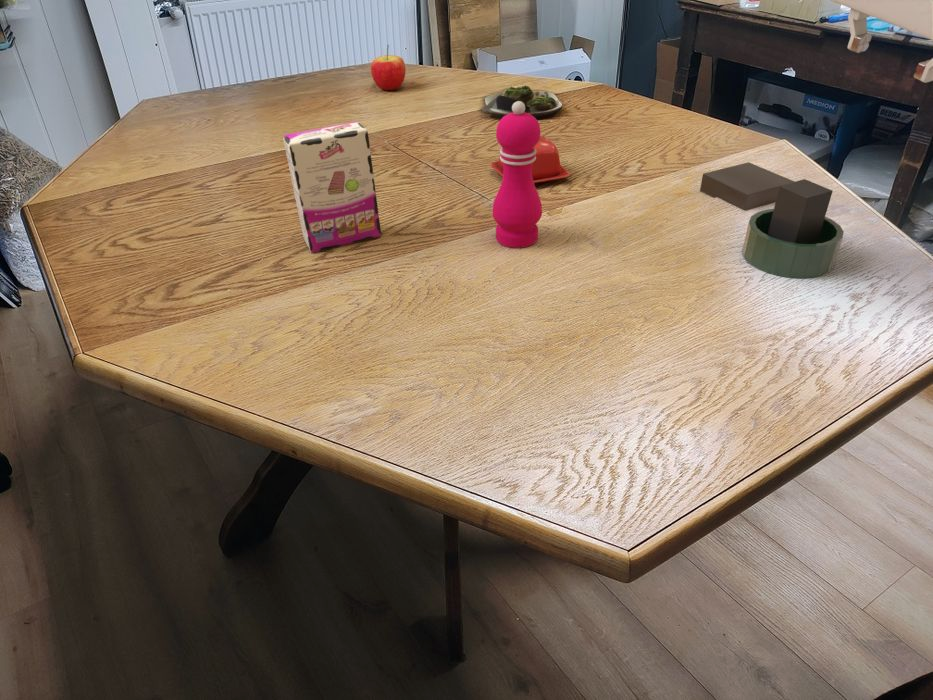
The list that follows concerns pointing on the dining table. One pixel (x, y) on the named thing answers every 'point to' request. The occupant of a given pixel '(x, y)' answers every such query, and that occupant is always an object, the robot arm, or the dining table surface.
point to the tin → (790, 249)
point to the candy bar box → (333, 185)
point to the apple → (388, 71)
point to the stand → (743, 185)
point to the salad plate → (534, 101)
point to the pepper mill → (517, 180)
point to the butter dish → (542, 163)
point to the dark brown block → (799, 212)
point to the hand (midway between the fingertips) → (888, 64)
